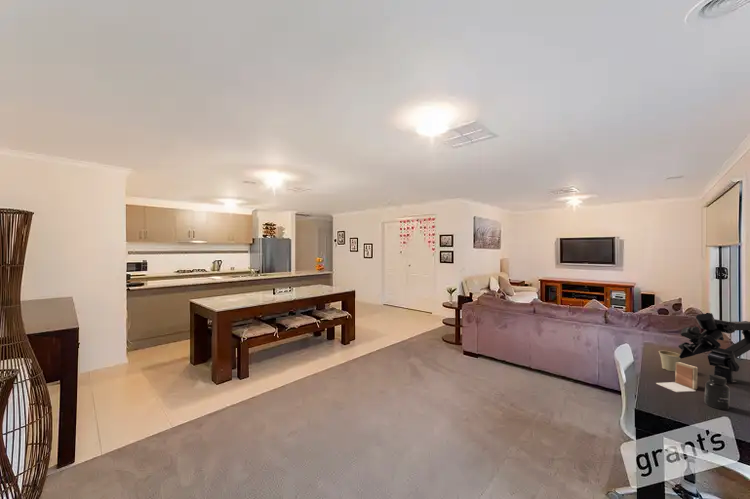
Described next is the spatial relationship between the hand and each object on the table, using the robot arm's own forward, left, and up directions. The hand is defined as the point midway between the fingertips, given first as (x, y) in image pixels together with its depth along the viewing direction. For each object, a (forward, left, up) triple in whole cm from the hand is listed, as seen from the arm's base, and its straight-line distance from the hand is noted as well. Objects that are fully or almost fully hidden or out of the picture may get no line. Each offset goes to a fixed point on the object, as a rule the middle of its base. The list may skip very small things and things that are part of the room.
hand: (686, 355), depth 150 cm
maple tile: (+4, +3, -13) cm, 14 cm away
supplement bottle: (+13, +21, -13) cm, 28 cm away
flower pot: (-11, -16, -13) cm, 24 cm away
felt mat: (+11, +4, -13) cm, 17 cm away
